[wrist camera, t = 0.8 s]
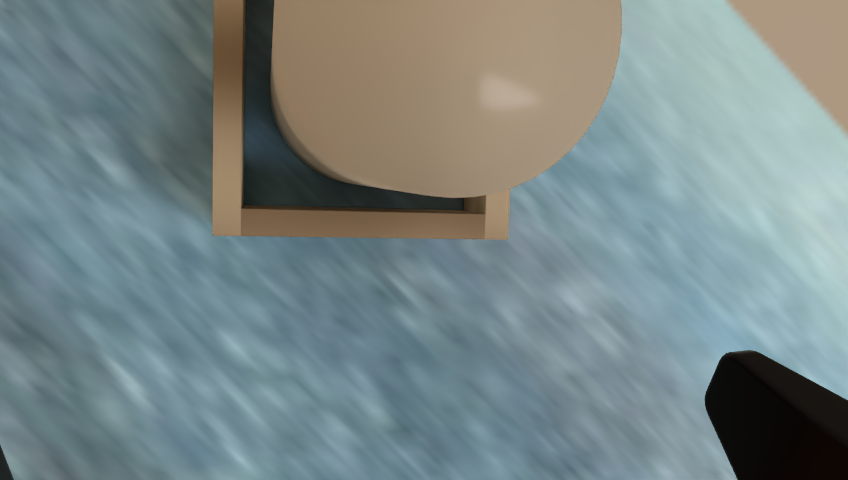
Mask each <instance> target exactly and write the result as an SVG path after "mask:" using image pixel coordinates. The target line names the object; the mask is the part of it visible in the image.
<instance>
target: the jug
mask: <svg viewBox="0 0 848 480" xmlns="http://www.w3.org/2000/svg"><path fill="white" fill-rule="evenodd" d="M621 34H622V8H621V0H274V18H273V39H272V60H271V80H270V99H271V107H272V112H273V116H274V119H275V122H276V125H277V128H278V130H279V132H280V134H281V136H282V138H283V139H284V141H285V142H286V144H287V145H288V147H289V148H290V149H291V151H292V152H293V153H294V154H295V155H296V156H297V157H298V158H299V159H300V160H301V161H302V162H303V163H304V164H305V165H307V166H308V167H310V168H311V169H312V170H314V171H316V172H317V173H319V174H321V175H323V176H325V177H328V178H330V179H333V180H336V181H340V182H344V183H350V184H356V185H362V186H369V187H375V188H382V189H388V190H395V191H401V192H408V193H414V194H421V195H427V196H436V197H446V198H464V197H477V196H483V195H488V194H494V193H498V192H501V191H504V190H507V189H510V188H513V187H516V186H518V185H520V184H522V183H524V182H526V181H528V180H531V179H533V178H535V177H536V176H538V175H539V174H541V173H542V172H544V171H545V170H547V169H548V168H550V167H551V166H553V165H554V164H555V163H556V162H558V161H559V160H560V159H561V158H562V157H563V156H565V155H566V154H567V153H568V152H569V151H570V150H571V149H572V148H573V147H574V145H575V144H576V143H577V142H578V141H579V140H580V139H581V138H582V137H583V135H584V134H585V132H586V131H587V130H588V128H589V127H590V125H591V124H592V122H593V121H594V119H595V118H596V116H597V114H598V112H599V110H600V108H601V106H602V105H603V103H604V101H605V99H606V96H607V94H608V91H609V88H610V86H611V83H612V80H613V78H614V74H615V69H616V65H617V61H618V57H619V50H620V42H621Z"/></svg>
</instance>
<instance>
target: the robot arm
mask: <svg viewBox="0 0 848 480" xmlns="http://www.w3.org/2000/svg"><path fill="white" fill-rule="evenodd" d="M705 406H706V410H707V413H708V416H709V418H710V420H711V422H712V424H713V427H714V429H715V431H716V433H717V435H718V438H719V440H720V442H721V444H722V446H723V449H724V451H725V453H726V455H727V457H728V460H729V462H730V464H731V466H732V468H733V471H734V473H735V475H736V477H737V479H738V480H848V400H846V399H844V398H842V397H841V396H839V395H837V394H835V393H833V392H831V391H829V390H828V389H826V388H824V387H822V386H820V385H818V384H816V383H815V382H813V381H811V380H809V379H807V378H805V377H803V376H802V375H800V374H798V373H796V372H794V371H792V370H790V369H789V368H787V367H785V366H783V365H781V364H779V363H777V362H776V361H774V360H772V359H770V358H768V357H766V356H764V355H763V354H761V353H759V352H756V351H751V350H746V351H737V352H729V353H726V354H725V355H724V356H722V357H721V359H720V361H719V363H718V365H717V368H716V370H715V372H714V375H713V377H712V379H711V382H710V384H709V386H708V389H707V391H706V394H705ZM0 480H14V479H13V477H12V474H11V471H10V469H9V466H8V464H7V461H6V458H5V456H4V453H3V451H2V448H1V446H0Z"/></svg>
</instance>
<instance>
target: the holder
mask: <svg viewBox="0 0 848 480" xmlns="http://www.w3.org/2000/svg"><path fill="white" fill-rule="evenodd" d="M245 28H246V0H214V68H213V235H215V236H288V237H361V238H434V239H507V240H508V226H509V205H510V189H507V190H504V191H501V192H498V193H494V194H488V195H483V196H477V197H464V208H463V210H442V209H401V208H359V207H317V206H275V205H244V128H245Z"/></svg>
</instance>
